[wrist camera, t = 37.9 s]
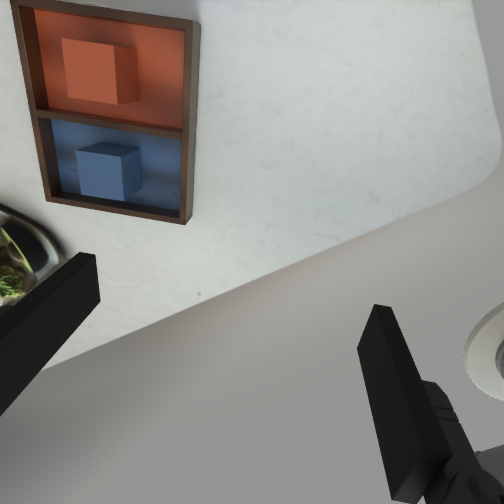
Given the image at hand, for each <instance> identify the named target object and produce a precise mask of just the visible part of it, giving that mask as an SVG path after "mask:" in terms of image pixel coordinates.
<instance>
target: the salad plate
mask: <svg viewBox="0 0 504 504" xmlns="http://www.w3.org/2000/svg"><path fill="white" fill-rule="evenodd" d="M69 260H70V259H66V258H65V257H64V256H63V255H62V253H61V252H60V249H59V246H58V244H57V242H56V241H55V239H54V238H53V237H52V235H51V234H50V233H49V232H48V231H47V230H46V229H45V228H43V227H42V226H41V225H39V224H38V223H36V222H34V221H32V220H31V219H29V218H27V217H25V216H23V215H22V214H20V213H18V212H16V211H14V210H12V209H10V208H8V207H5V206H2V205H0V298H1V299H2V300H3V304H2V306H3V305H6V304H9V305H14V304H16V303H17V302H18V301H19V300H21V299H22V298H23V297H24V296H26V295H27V294H28V293H29V292H31V291H32V290H33V289H34V288H35V287H37V286H38V285H39V284H40V283H42V282H43V281H44V280H45V279H47V278H48V277H49V276H50V275H52V274H53V273H54V272H55V271H57V270H58V269H59V268H60V267H61V266H63V265H64V264H65V263H66V262H68V261H69Z"/></svg>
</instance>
